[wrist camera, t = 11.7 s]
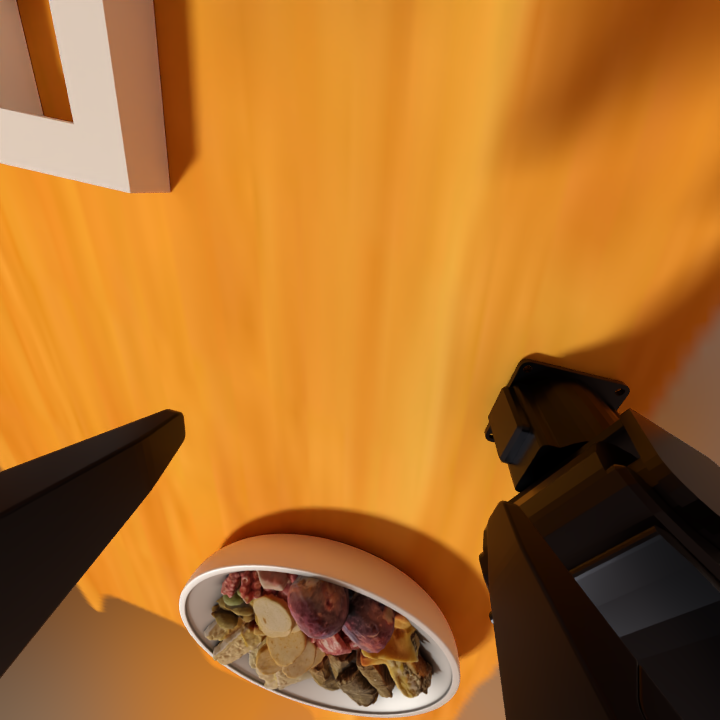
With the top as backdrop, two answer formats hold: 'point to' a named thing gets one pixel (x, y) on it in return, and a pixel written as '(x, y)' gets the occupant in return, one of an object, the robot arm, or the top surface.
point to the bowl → (323, 626)
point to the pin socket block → (88, 97)
